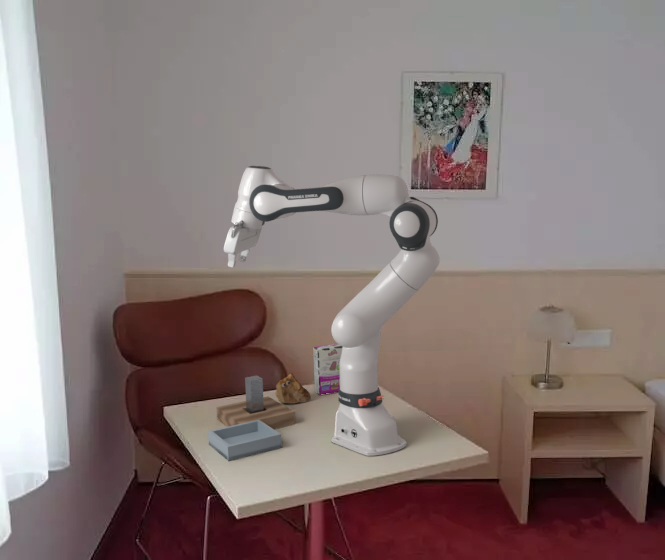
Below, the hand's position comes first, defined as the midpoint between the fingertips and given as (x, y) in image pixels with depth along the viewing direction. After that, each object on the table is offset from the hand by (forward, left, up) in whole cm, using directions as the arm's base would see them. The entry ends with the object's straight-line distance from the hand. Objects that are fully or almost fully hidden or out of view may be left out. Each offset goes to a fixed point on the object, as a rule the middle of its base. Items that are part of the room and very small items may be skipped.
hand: (236, 263), depth 207 cm
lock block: (-1, -4, -49) cm, 50 cm away
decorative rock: (+8, -22, -50) cm, 55 cm away
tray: (-17, +7, -49) cm, 53 cm away
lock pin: (-1, -4, -49) cm, 50 cm away
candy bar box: (+11, -39, -50) cm, 64 cm away
